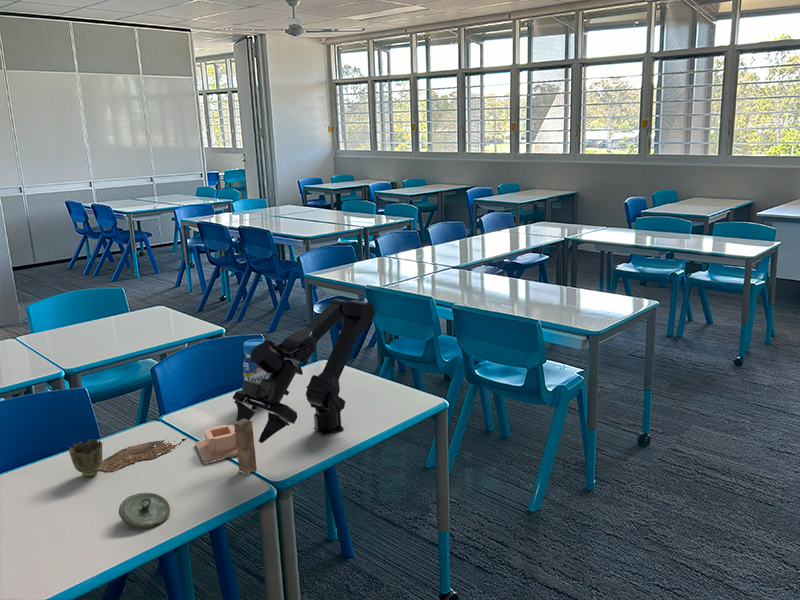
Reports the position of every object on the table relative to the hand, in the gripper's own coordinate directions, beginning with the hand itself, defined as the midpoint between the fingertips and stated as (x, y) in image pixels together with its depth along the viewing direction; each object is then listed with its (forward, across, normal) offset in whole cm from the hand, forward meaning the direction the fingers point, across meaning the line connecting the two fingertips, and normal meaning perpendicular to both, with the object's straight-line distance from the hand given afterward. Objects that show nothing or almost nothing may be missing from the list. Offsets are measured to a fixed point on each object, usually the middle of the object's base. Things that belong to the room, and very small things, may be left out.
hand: (247, 437), depth 161 cm
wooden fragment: (+14, -31, -1) cm, 34 cm away
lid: (+26, -2, -13) cm, 29 cm away
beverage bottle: (-14, -30, +26) cm, 43 cm away
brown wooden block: (+7, 0, +6) cm, 9 cm away
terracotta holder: (+4, -15, +8) cm, 17 cm away
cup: (+24, -31, -11) cm, 41 cm away
